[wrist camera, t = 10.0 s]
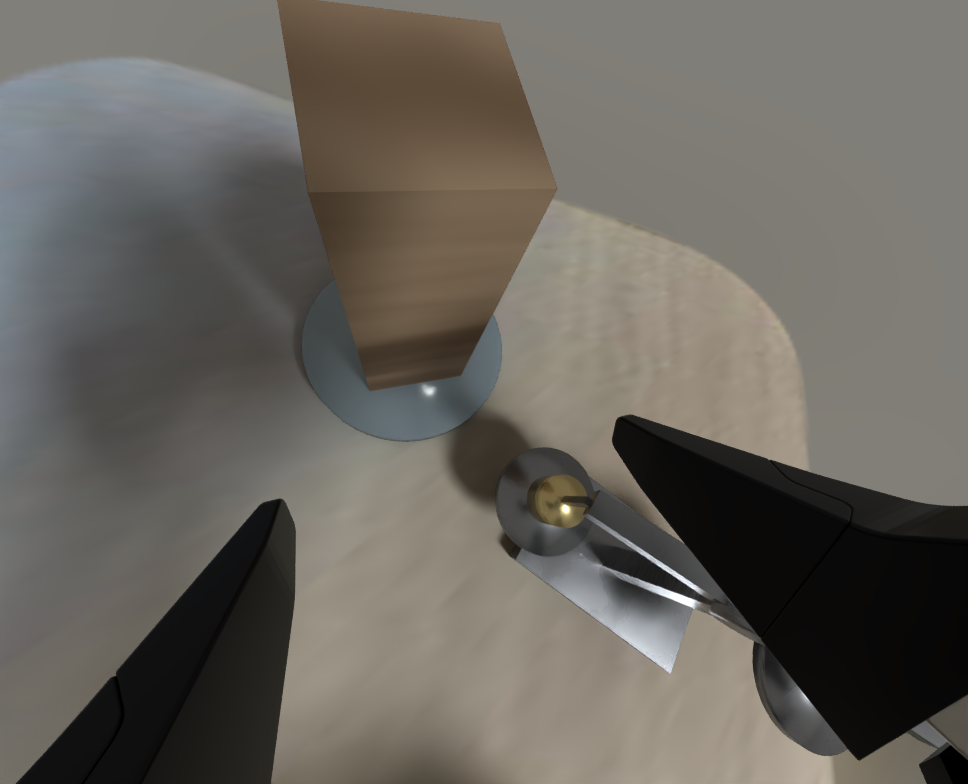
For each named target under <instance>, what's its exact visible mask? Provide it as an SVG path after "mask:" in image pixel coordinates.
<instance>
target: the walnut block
mask: <svg viewBox="0 0 968 784" xmlns="http://www.w3.org/2000/svg"><path fill="white" fill-rule="evenodd" d="M277 1H278V8H279V14H280V21H281V27H282V33H283V39H284V45H285V51H286V58H287V64H288V70H289V77H290V83H291V89H292V96H293V102H294V108H295V114H296V120H297V127H298V133H299V139H300V145H301V152H302V158H303V164H304V170H305V177H306V183H307V189H308V194H309V197H310V200H311V204H312V207H313V210H314V213H315V216H316V220H317V223H318V226H319V229H320V233H321V236H322V239H323V242H324V245H325V249H326V252H327V255H328V258H329V261H330V265H331V268H332V271H333V274H334V277H335V281H336V284H337V287H338V290H339V294H340V297H341V300H342V303H343V306H344V310H345V313H346V316H347V319H348V322H349V326H350V329H351V332H352V335H353V339H354V342H355V345H356V348H357V351H358V355H359V358H360V361H361V364H362V367H363V371H364V374H365V377H366V380H367V383H368V387H369V390H370V391H375V390H381V389H387V388H393V387H399V386H405V385H410V384H416V383H422V382H428V381H434V380H440V379H446V378H451V377H457V376H461V375H462V373H463V371H464V369H465V367H466V365H467V363H468V361H469V359H470V357H471V355H472V353H473V352H474V350H475V348H476V346H477V344H478V342H479V340H480V338H481V336H482V334H483V332H484V330H485V328H486V326H487V324H488V322H489V321H490V319H491V317H492V315H493V313H494V311H495V309H496V307H497V305H498V303H499V301H500V299H501V297H502V295H503V293H504V291H505V290H506V288H507V286H508V284H509V282H510V280H511V278H512V276H513V274H514V272H515V270H516V268H517V266H518V264H519V262H520V261H521V259H522V257H523V255H524V253H525V251H526V249H527V247H528V245H529V243H530V241H531V239H532V237H533V235H534V233H535V231H536V230H537V228H538V226H539V224H540V222H541V220H542V218H543V216H544V214H545V212H546V210H547V208H548V206H549V204H550V202H551V201H552V199H553V197H554V195H555V193H556V191H557V185H556V182H555V179H554V177H553V174H552V171H551V168H550V165H549V162H548V160H547V157H546V154H545V151H544V148H543V145H542V142H541V139H540V137H539V134H538V131H537V128H536V125H535V122H534V119H533V117H532V114H531V111H530V108H529V105H528V102H527V100H526V96H525V94H524V91H523V88H522V85H521V82H520V79H519V76H518V74H517V71H516V68H515V65H514V62H513V59H512V57H511V54H510V51H509V48H508V45H507V42H506V40H505V36H504V34H503V31H502V28H501V25H500V23H492V22H483V21H476V20H468V19H461V18H453V17H444V16H437V15H429V14H421V13H413V12H405V11H397V10H390V9H382V8H374V7H365V6H358V5H350V4H342V3H335V2H327V1H318V0H277Z"/></svg>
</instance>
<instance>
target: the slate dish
mask: <svg viewBox="0 0 968 784" xmlns="http://www.w3.org/2000/svg"><path fill="white" fill-rule="evenodd" d="M302 357H303V363H304V367H305V370H306V373H307V376H308V378H309V380H310V382H311V385H312V387H313V388H314V390H315V391H316V393H317V394H318V396H319V397H320V399H321V400H322V401H323V402H324V403H325V404H326V406H327V407H328V408H329V409H330V410H331V411H332V412H333V413H334V414H335V415H336V416H337V417H338V418H340V419H341V420H342V421H343V422H345V423H346V424H348V425H349V426H351V427H353V428H354V429H356V430H358V431H360V432H363V433H365V434H367V435H370V436H373V437H376V438H380V439H385V440H391V441H404V442H408V441H420V440H425V439H430V438H434V437H437V436H440V435H442V434H445V433H447V432H449V431H451V430H453V429H455V428H457V427H458V426H460V425H461V424H463V423H464V422H465V421H467V420H468V419H469V418H470V417H471V416H472V415H473V414H474V413H475V412H476V411H477V410H478V409H479V408H480V407H481V406H482V405H483V403H484V402H485V401H486V400H487V398H488V396H489V395H490V393H491V392H492V390H493V388H494V386H495V383H496V381H497V378H498V375H499V371H500V367H501V360H502V343H501V336H500V332H499V328H498V324H497V322H496V320H495V317H494V315H492V317H491V319H490V321H489V322H488V324H487V326H486V328H485V330H484V332H483V334H482V336H481V338H480V340H479V342H478V344H477V346H476V348H475V350H474V352H473V353H472V355H471V357H470V359H469V361H468V363H467V365H466V367H465V369H464V371H463V373H462V375H461V376H457V377H451V378H446V379H440V380H434V381H428V382H422V383H416V384H410V385H405V386H399V387H393V388H387V389H381V390H375V391H370V390H369V387H368V383H367V380H366V377H365V374H364V371H363V367H362V364H361V361H360V358H359V355H358V351H357V348H356V345H355V342H354V339H353V335H352V332H351V329H350V326H349V322H348V319H347V316H346V313H345V310H344V306H343V303H342V300H341V297H340V294H339V290H338V287H337V284H336V281H335V279H334V280H333V281H331V282H330V283H329V284H328V285H327V286H326V287H325V288H324V289H323V290H322V291H321V292H320V294H319V295H318V297H317V298H316V299H315V301H314V302H313V304H312V306H311V308H310V310H309V312H308V314H307V317H306V320H305V323H304V327H303V333H302Z"/></svg>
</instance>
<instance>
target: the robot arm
mask: <svg viewBox="0 0 968 784" xmlns="http://www.w3.org/2000/svg"><path fill="white" fill-rule="evenodd" d="M612 443H613V446H614V448H615V449H616V451H617V453H618V454H619V456H620V457H621V459H622V460H623V462H624V463H625V465H626V466H627V468H628V469H629V471H630V473H631V474H632V476H633V477H634V479H635V480H636V482H637V483H638V485H639V486H640V488H641V489H642V490H643V492H644V493H645V494H646V496H647V497H648V498H649V499H650V501H651V502H652V503H653V504H654V506H655V507H656V508H657V509H658V511H659V512H660V513H661V514H662V516H663V517H664V518H665V520H666V521H667V522H668V523H669V525H670V526H671V527H672V528H673V530H674V531H675V532H676V533H677V535H678V536H679V537H680V538H681V540H682V541H683V542H684V543H685V545H686V546H687V547H688V548H689V550H690V551H691V552H692V553H693V555H694V556H695V557H696V559H697V560H698V561H699V562H700V564H701V565H702V566H703V567H704V569H705V570H706V571H707V572H708V574H709V575H710V576H711V577H712V579H713V580H714V581H715V582H716V584H717V585H718V586H719V587H720V589H721V590H722V591H723V592H724V594H725V595H726V596H727V598H728V599H729V600H730V601H731V603H732V604H733V605H734V606H735V608H736V609H737V610H738V611H739V613H740V614H741V615H742V616H743V618H744V619H745V620H746V621H747V623H748V624H749V625H750V626H751V628H752V629H753V630H754V632H755V633H756V634H757V635H758V637H760V638H761V641H762V642H763V643H764V644H765V646H766V647H767V648H768V649H769V651H770V652H771V653H772V655H773V656H774V657H775V658H776V660H777V661H778V662H779V663H780V665H781V666H782V667H783V668H784V670H785V671H786V672H787V673H788V675H789V676H790V677H791V678H792V680H793V681H794V682H795V684H796V685H797V686H798V687H799V689H800V690H801V691H802V692H803V694H804V695H805V696H806V697H807V699H808V700H809V701H810V702H811V704H812V705H813V706H814V707H815V709H816V710H817V711H818V712H819V714H820V715H821V716H822V718H823V719H824V720H825V721H826V723H827V724H828V725H829V726H830V728H831V729H832V730H833V731H834V733H835V734H836V735H837V736H838V738H839V739H840V740H841V741H842V743H843V744H844V745H845V746H846V748H847V749H848V750H849V751H850V752H851V753H852V754H853V755H854V756H855V758H857V760H859V761H860V760H862V759H863V758H865V757H866V756H868V755H870V754H871V753H873V752H875V751H876V750H878V749H880V748H881V747H883V746H885V745H886V744H888V743H890V742H891V741H893V740H895V739H896V738H898V737H899V736H901V735H902V734H904V733H906V732H908V731H909V730H911V729H913V728H914V727H916V726H918V725H919V724H921V723H923V722H924V721H925V722H926V723H927V724H929V725H930V726H931V727H932V728H933V729H934V730H935V731H936V732H937V733H938V734H939V735H941V736H942V737H943V738H944V739H945V740H946V741H947V742H946V743H945V744H944V745H942V746H941V747H940V748H939V749H937V750H936V751H935V752H934V753H933V754H931V755H930V756H929V757H928V758H926V759H925V760H924V761H923V762H921V763H920V764H919V766H920V769H921V771H922V773H923V775H924V778H925V780H926V783H927V784H968V506H941V505H932V504H925V503H920V502H915V501H911V500H907V499H902V498H899V497H896V496H892V495H888V494H885V493H881V492H878V491H874V490H871V489H867V488H863V487H860V486H856V485H853V484H849V483H846V482H842V481H838V480H835V479H831V478H828V477H824V476H821V475H817V474H814V473H811V472H808V471H804V470H801V469H798V468H795V467H792V466H788V465H785V464H782V463H779V462H776V461H773V460H768V459H767V458H764V457H761V456H758V455H754V454H751V453H748V452H745V451H742V450H739V449H736V448H733V447H730V446H727V445H724V444H721V443H718V442H714V441H711V440H708V439H705V438H702V437H699V436H696V435H693V434H690V433H687V432H684V431H681V430H678V429H674V428H671V427H668V426H665V425H662V424H659V423H656V422H653V421H650V420H647V419H644V418H641V417H638V416H635V415H625V416H621V417H619V418H617V420H616V423H615V428H614V432H613V437H612ZM295 554H296V530H295V524H294V521H293V519H292V516H291V514H290V512H289V509H288V507H287V505H286V503H285V501H284V500H283V499H275V500H271V501H267V502H264V503H262V504H260V505H259V506H258V508H257V509H256V510H255V511H254V512H253V513H252V515H251V516H250V517H249V518H248V519H247V520H246V522H245V523H244V524H243V525H242V526H241V527H240V528H239V530H238V531H237V532H236V533H235V534H234V535H233V537H232V538H231V539H230V540H229V541H228V542H227V544H226V545H225V546H224V547H223V548H222V549H221V551H220V552H219V553H218V554H217V555H216V556H215V557H214V559H213V560H212V561H211V562H210V563H209V564H208V566H207V567H206V568H205V569H204V570H203V571H202V573H201V574H200V575H199V576H198V577H197V578H196V580H195V581H194V582H193V583H192V584H191V585H190V587H189V588H188V589H187V590H186V591H185V592H184V593H183V595H182V596H181V597H180V598H179V599H178V600H177V602H176V603H175V604H174V605H173V606H172V607H171V609H170V610H169V611H168V612H167V613H166V614H165V616H164V617H163V618H162V619H161V620H160V621H159V622H158V624H157V625H156V626H155V627H154V628H153V629H152V631H151V632H150V633H149V634H148V635H147V636H146V638H145V639H144V640H143V641H142V642H141V643H140V645H139V646H138V647H137V648H136V649H135V650H134V651H133V653H132V654H131V655H130V656H129V657H128V658H127V660H126V661H125V662H124V663H123V664H122V665H121V667H120V668H119V669H118V670H117V671H116V676H113V677H111V678H110V679H109V680H108V681H107V683H106V684H105V685H104V686H103V687H102V688H101V689H100V691H99V692H98V693H97V694H96V695H95V696H94V698H93V699H92V700H91V701H90V702H89V703H88V705H87V706H86V707H85V708H84V709H83V710H82V711H81V712H80V714H79V715H78V716H77V717H76V718H75V719H74V720H73V721H72V723H71V724H70V725H69V726H68V727H67V728H66V729H65V730H64V732H63V733H62V734H61V735H60V736H59V737H58V738H57V739H56V741H55V742H54V743H53V744H52V745H51V746H50V747H49V748H48V750H47V751H46V752H45V753H44V754H43V755H42V756H41V757H40V758H39V759H38V760H37V761H36V763H35V764H34V765H33V766H32V767H31V768H30V769H29V770H28V771H27V772H26V773H25V774H24V775H23V776H22V778H21V779H20V780H19V781H18V782H17V783H16V784H271V778H272V770H273V762H274V755H275V747H276V740H277V732H278V724H279V717H280V709H281V702H282V694H283V686H284V679H285V671H286V664H287V656H288V648H289V641H290V633H291V626H292V618H293V610H294V601H295Z"/></svg>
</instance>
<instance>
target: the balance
mask: <svg viewBox="0 0 968 784" xmlns="http://www.w3.org/2000/svg"><path fill="white" fill-rule="evenodd" d="M495 504H496V511H497V516H498V519H499V521H500V524H501V526H502V528H503V530H504V531H505V533H506V534H507V536H508V537H509V538H510V539H511V540H512V541H513V542H514V543H515V544H516V546H515V548H514V550H513V552H512V553H511V555H510V557H511V558H513V559H514V560H516V561H517V562H518V563H520V564H521V565H522V566H524V567H525V568H526V569H528V570H529V571H530V572H532V573H533V574H535V575H536V576H537V577H539V578H540V579H541V580H543V581H544V582H545V583H547V584H548V585H550V586H551V587H552V588H554V589H555V590H556V591H558V592H559V593H560V594H562V595H563V596H564V597H566V598H567V599H569V600H570V601H571V602H573V603H574V604H575V605H577V606H578V607H579V608H581V609H582V610H584V611H585V612H586V613H588V614H589V615H590V616H592V617H593V618H594V619H596V620H597V621H598V622H600V623H601V624H603V625H604V626H605V627H607V628H608V629H609V630H611V631H612V632H613V633H615V634H616V635H618V636H619V637H620V638H622V639H623V640H624V641H626V642H627V643H628V644H630V645H631V646H632V647H634V648H635V649H637V650H638V651H639V652H641V653H642V654H643V655H645V656H646V657H647V658H649V659H650V660H651V661H653V662H654V663H656V664H657V665H658V666H660V667H661V668H663V669H664V670H666V671H667V672H669V673H671V670H672V667H673V664H674V662H675V659H676V656H677V653H678V650H679V647H680V644H681V642H682V639H683V636H684V633H685V630H686V627H687V625H688V622H689V619H690V616H691V613H692V610H693V608H694V609H697V610H699V611H702V612H704V613H707V614H709V615H712V616H714V617H715V618H716V619H717V620H719V621H720V622H722V623H723V624H725V625H726V626H728V627H729V628H731V629H733V630H734V631H736V632H738V633H740V634H741V635H743V636H745V637H747V638H749V639H751V640H753V641H754V646H753V672H754V678H755V683H756V687H757V690H758V693H759V696H760V699H761V701H762V704H763V706H764V708H765V710H766V712H767V713H768V715H769V717H770V718H771V720H772V721H773V722H774V724H775V725H776V726H777V727H778V729H779V730H780V731H781V732H782V733H783V734H785V735H786V736H787V737H788V738H790V739H791V740H793V741H794V742H796V743H797V744H799V745H801V746H802V747H804V748H805V749H807V750H809V751H810V752H813V753H815V754H818V755H822V756H833V755H838V754H840V753H842V752H844V751H845V750H847V748H846V746H845V745H844V744H843V743H842V741H841V740H840V739H839V738H838V736H837V735H836V734H835V733H834V731H833V730H832V729H831V728H830V726H829V725H828V724H827V723H826V721H825V720H824V719H823V718H822V716H821V715H820V714H819V712H818V711H817V710H816V709H815V707H814V706H813V705H812V704H811V702H810V701H809V700H808V699H807V697H806V696H805V695H804V694H803V692H802V691H801V690H800V689H799V687H798V686H797V685H796V684H795V682H794V681H793V680H792V678H791V677H790V676H789V675H788V673H787V672H786V671H785V670H784V668H783V667H782V666H781V665H780V663H779V662H778V661H777V660H776V658H775V657H774V656H773V655H772V653H771V652H770V651H769V649H768V648H767V647H766V646H765V644H764V643H763V642H762V641H761V638H760V637H758V635H757V634H756V633H755V632H754V630H753V629H752V628H751V626H750V625H749V624H748V623H747V621H746V620H745V619H744V618H743V616H742V615H741V614H740V613H739V611H738V610H737V609H736V608H735V606H734V605H733V604H732V603H731V601H730V600H729V599H728V598H727V596H726V595H725V594H724V592H723V591H722V590H721V589H720V587H719V586H718V585H717V584H716V582H715V581H714V580H713V579H712V577H711V576H710V575H709V574H708V572H707V571H706V570H705V569H704V567H703V566H702V565H701V564H700V562H699V561H698V560H697V559H696V557H695V556H694V555H693V553H692V552H691V551H690V550H689V548H688V547H687V546H686V545H685V544H683V543H682V542H680V541H679V540H677V539H676V538H674V537H673V536H671V535H670V534H668V533H667V532H665V531H663V530H662V529H660V528H659V527H657V526H656V525H654V524H653V523H651V522H650V521H648V520H647V519H645V518H644V517H643V516H641V515H640V514H639V513H637V512H636V511H635V510H633V509H632V508H631V507H629V506H628V505H627V504H625V503H624V502H623V501H621V500H620V499H618V498H617V497H616V496H614V495H613V494H612V493H610V492H609V491H608V490H606V489H605V488H604V487H602V486H601V485H600V484H598V483H597V482H596V481H594V480H593V479H592V478H590V477H589V476H588V474H587V473H586V471H585V470H584V468H583V467H582V466H581V465H580V464H579V462H578V461H576V460H575V459H574V458H573V457H572V456H570V455H568V454H567V453H565V452H563V451H560V450H557V449H553V448H536V449H531V450H528V451H526V452H523V453H521V454H519V455H518V456H516V457H515V458H514V459H512V460H511V461H510V462H509V463H508V464H507V466H506V467H505V469H504V470H503V472H502V474H501V475H500V478H499V480H498V484H497V488H496V494H495ZM907 733H908V734H910V735H911V736H912V737H914V738H915V739H917V740H919V741H921V742H923V743H926V744H928V745H930V746H932V747H935V748H937V749H939V748H940V747H941V746H942V745H944V744H945V743H946V742H947V741H946V740H945V739H944V738H943V737H942V736H941V735H939V734H938V733H937V732H936V731H935V730H934V729H933V728H932V727H931V726H930V725H929V724H927V723H926V722H925V721H924V722H923V723H921V724H919V725H918V726H916V727H914V728H913V729H911V730H909V731H908V732H907Z"/></svg>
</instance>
